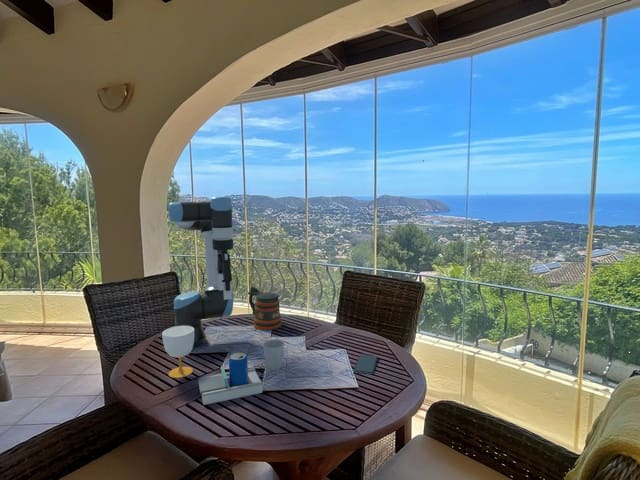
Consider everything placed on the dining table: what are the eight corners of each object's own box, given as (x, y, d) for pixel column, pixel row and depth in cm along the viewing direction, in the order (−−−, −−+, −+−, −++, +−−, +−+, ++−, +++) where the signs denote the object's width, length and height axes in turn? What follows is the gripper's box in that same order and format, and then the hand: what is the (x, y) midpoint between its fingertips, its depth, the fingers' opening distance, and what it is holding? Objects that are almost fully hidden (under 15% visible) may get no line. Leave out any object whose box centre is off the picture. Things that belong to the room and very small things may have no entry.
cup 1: (157, 377, 145) (155, 334, 143) (179, 363, 156) (176, 324, 154) (182, 382, 141) (180, 338, 139) (202, 368, 152) (200, 327, 150)
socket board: (200, 387, 137) (199, 377, 136) (254, 377, 144) (254, 367, 144) (203, 405, 126) (202, 394, 125) (262, 392, 133) (262, 382, 133)
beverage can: (244, 393, 132) (242, 360, 131) (226, 391, 134) (225, 359, 132) (251, 383, 139) (249, 352, 137) (234, 382, 140) (233, 351, 138)
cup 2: (287, 364, 155) (287, 341, 154) (279, 373, 147) (278, 349, 146) (269, 361, 157) (269, 338, 156) (260, 370, 150) (259, 346, 149)
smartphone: (353, 370, 148) (360, 353, 162) (353, 374, 148) (360, 356, 162) (372, 372, 146) (377, 355, 160) (372, 376, 146) (377, 358, 160)
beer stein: (240, 327, 197) (239, 289, 195) (256, 318, 211) (255, 283, 208) (272, 332, 190) (271, 293, 187) (286, 322, 203) (285, 286, 201)
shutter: (198, 381, 135) (197, 371, 134) (223, 376, 138) (223, 366, 138) (200, 393, 127) (199, 383, 126) (227, 388, 130) (227, 378, 129)
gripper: (208, 235, 150) (210, 287, 153) (216, 243, 128) (219, 304, 130) (227, 234, 153) (229, 285, 156) (239, 242, 130) (241, 302, 133)
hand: (224, 294), depth 143 cm, fingers open, 13 cm apart
